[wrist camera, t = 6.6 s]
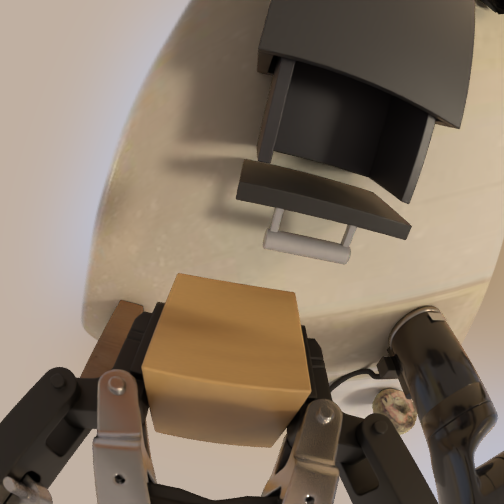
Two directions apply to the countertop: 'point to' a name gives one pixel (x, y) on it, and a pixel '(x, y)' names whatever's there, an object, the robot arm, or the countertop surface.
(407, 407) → the stone ring
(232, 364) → the cube
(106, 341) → the wooden block
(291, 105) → the pull-out drawer
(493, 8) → the camera
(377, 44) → the dark drawer cabinet
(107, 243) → the countertop surface
